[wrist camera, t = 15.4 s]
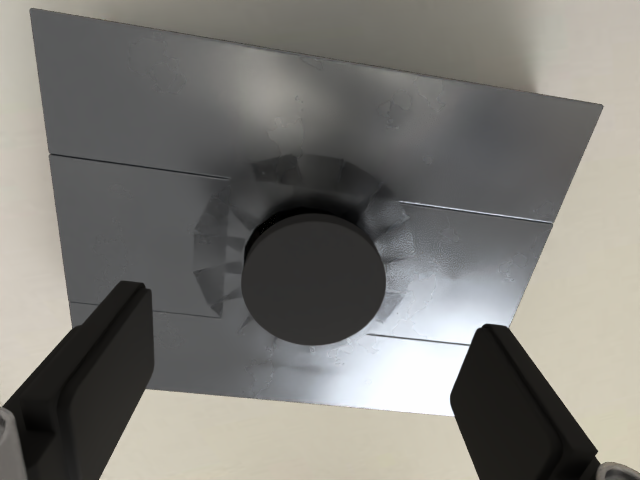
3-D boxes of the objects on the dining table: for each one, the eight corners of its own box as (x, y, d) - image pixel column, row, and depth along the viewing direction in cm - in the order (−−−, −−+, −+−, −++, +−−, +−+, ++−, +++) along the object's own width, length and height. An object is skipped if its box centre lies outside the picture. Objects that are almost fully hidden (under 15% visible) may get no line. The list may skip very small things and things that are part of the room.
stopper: (264, 167, 19) (246, 211, 13) (374, 183, 20) (401, 231, 14) (255, 265, 21) (236, 339, 16) (354, 277, 22) (370, 352, 16)
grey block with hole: (98, 22, 16) (27, 7, 12) (538, 96, 18) (605, 104, 14) (120, 326, 23) (79, 383, 19) (443, 359, 25) (470, 418, 20)
